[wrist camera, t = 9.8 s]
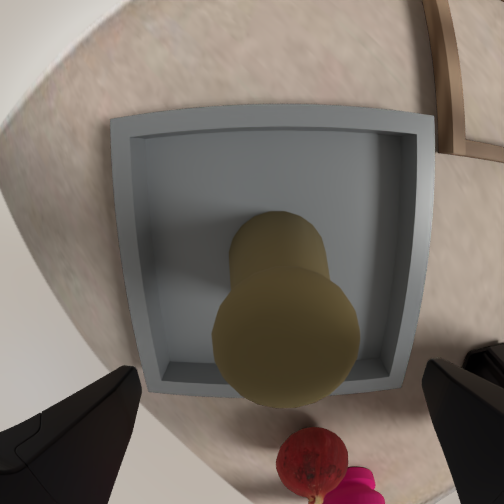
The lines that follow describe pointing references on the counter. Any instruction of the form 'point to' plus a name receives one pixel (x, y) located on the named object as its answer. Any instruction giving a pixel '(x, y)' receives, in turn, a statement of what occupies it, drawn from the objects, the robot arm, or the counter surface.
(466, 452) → the robot arm
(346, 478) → the pepper mill
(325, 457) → the pomegranate
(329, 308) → the olive shaker
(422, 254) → the gray square tray
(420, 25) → the counter surface
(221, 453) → the counter surface
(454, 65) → the frame
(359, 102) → the counter surface
